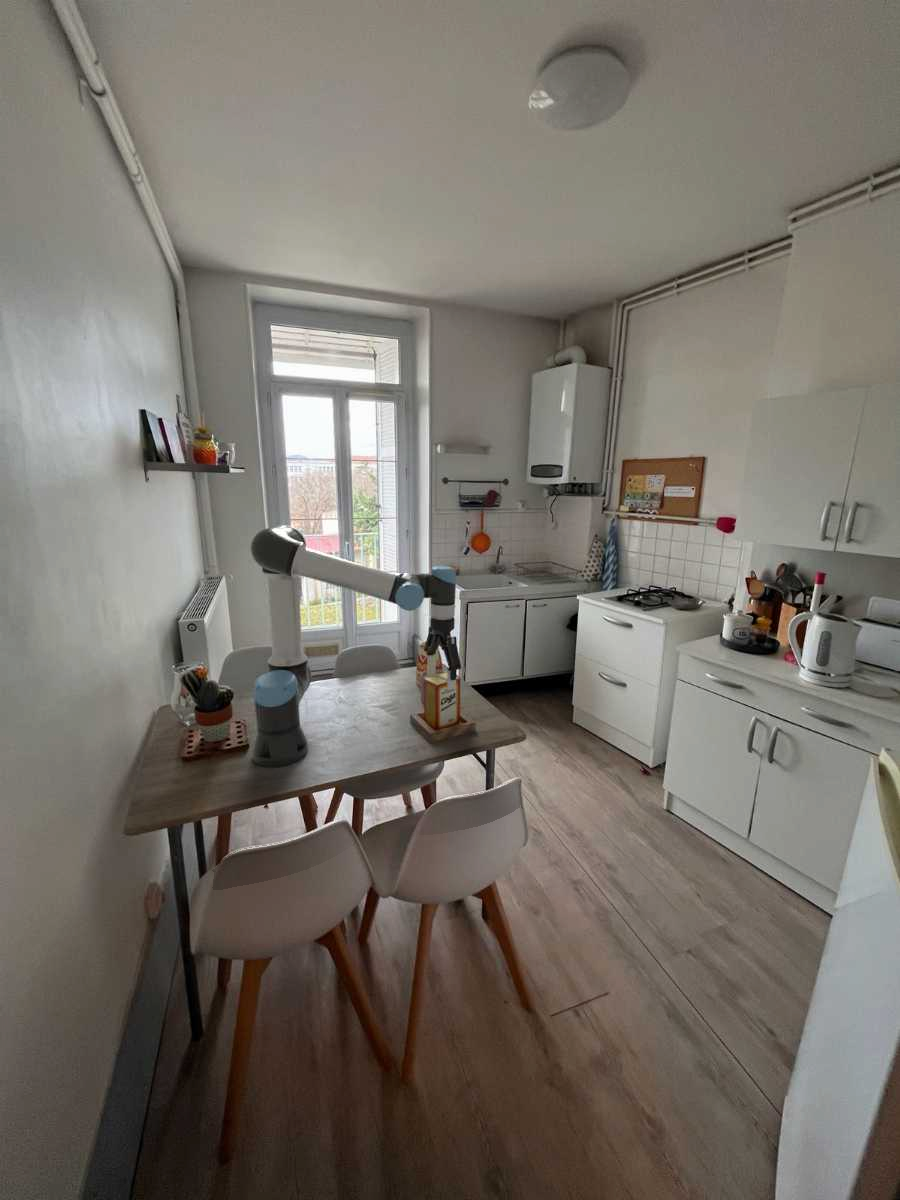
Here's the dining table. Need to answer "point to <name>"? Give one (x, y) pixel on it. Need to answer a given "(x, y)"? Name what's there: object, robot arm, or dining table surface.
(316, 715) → the dining table surface
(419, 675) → the milk carton
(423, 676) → the coffee mug
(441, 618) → the robot arm
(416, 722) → the tray
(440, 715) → the baking soda box
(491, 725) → the dining table surface
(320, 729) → the dining table surface
